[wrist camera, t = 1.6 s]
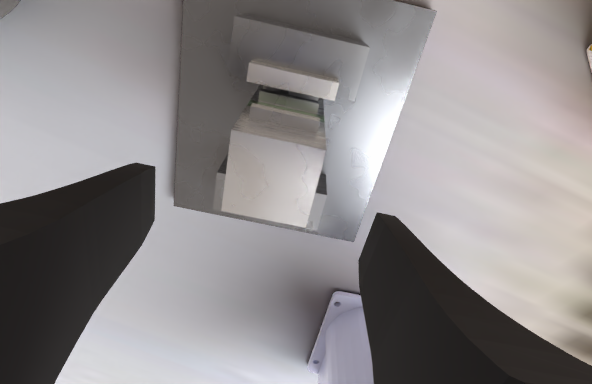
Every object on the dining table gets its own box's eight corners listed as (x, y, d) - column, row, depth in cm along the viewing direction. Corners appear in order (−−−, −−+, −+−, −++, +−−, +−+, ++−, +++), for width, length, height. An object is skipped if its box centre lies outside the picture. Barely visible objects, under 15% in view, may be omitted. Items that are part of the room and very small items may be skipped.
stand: (352, 234, 24) (358, 276, 21) (177, 199, 24) (153, 236, 20) (432, 10, 18) (461, 14, 14) (191, -48, 17) (157, -60, 13)
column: (307, 164, 21) (303, 236, 15) (249, 152, 21) (220, 219, 15) (325, 91, 19) (329, 138, 13) (260, 76, 19) (232, 117, 12)
